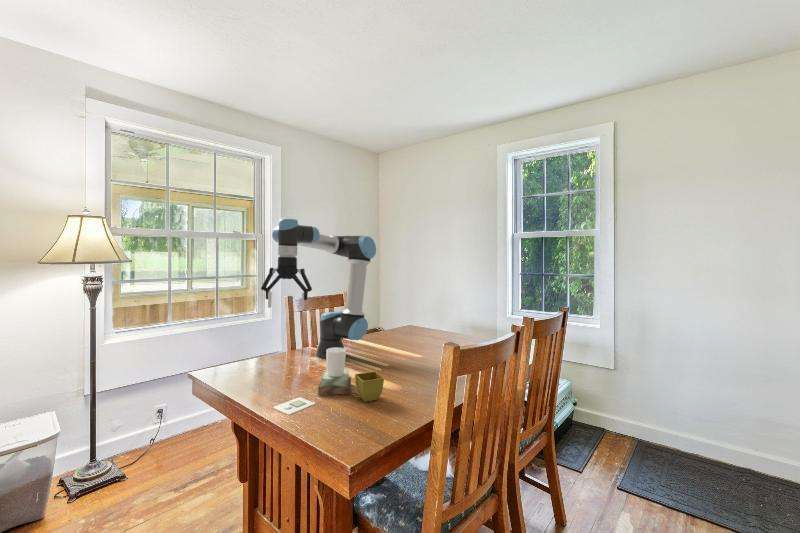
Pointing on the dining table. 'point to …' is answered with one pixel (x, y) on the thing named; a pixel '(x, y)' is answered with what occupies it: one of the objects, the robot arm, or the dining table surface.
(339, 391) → the tower base
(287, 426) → the dining table surface
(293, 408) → the page
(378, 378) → the flower pot
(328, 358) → the white cup
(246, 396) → the dining table surface
